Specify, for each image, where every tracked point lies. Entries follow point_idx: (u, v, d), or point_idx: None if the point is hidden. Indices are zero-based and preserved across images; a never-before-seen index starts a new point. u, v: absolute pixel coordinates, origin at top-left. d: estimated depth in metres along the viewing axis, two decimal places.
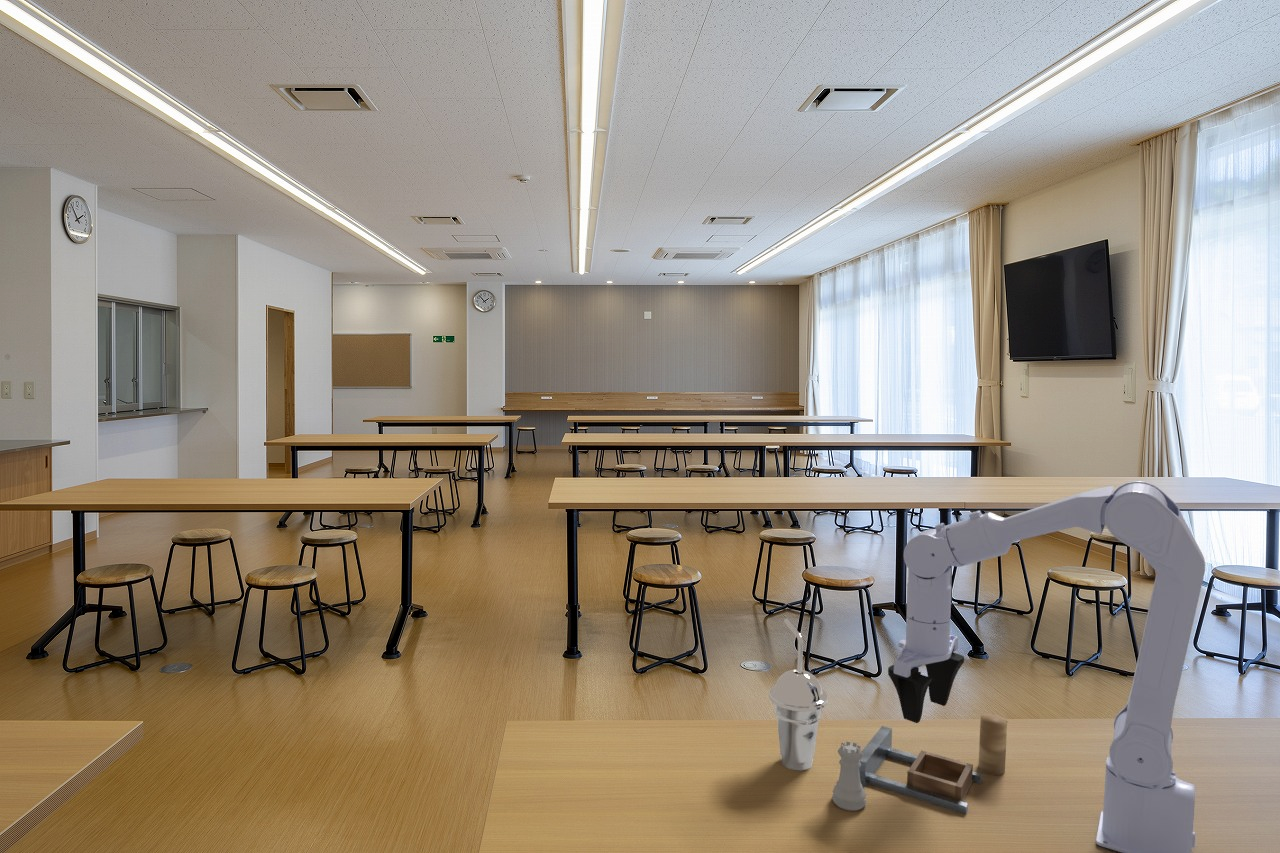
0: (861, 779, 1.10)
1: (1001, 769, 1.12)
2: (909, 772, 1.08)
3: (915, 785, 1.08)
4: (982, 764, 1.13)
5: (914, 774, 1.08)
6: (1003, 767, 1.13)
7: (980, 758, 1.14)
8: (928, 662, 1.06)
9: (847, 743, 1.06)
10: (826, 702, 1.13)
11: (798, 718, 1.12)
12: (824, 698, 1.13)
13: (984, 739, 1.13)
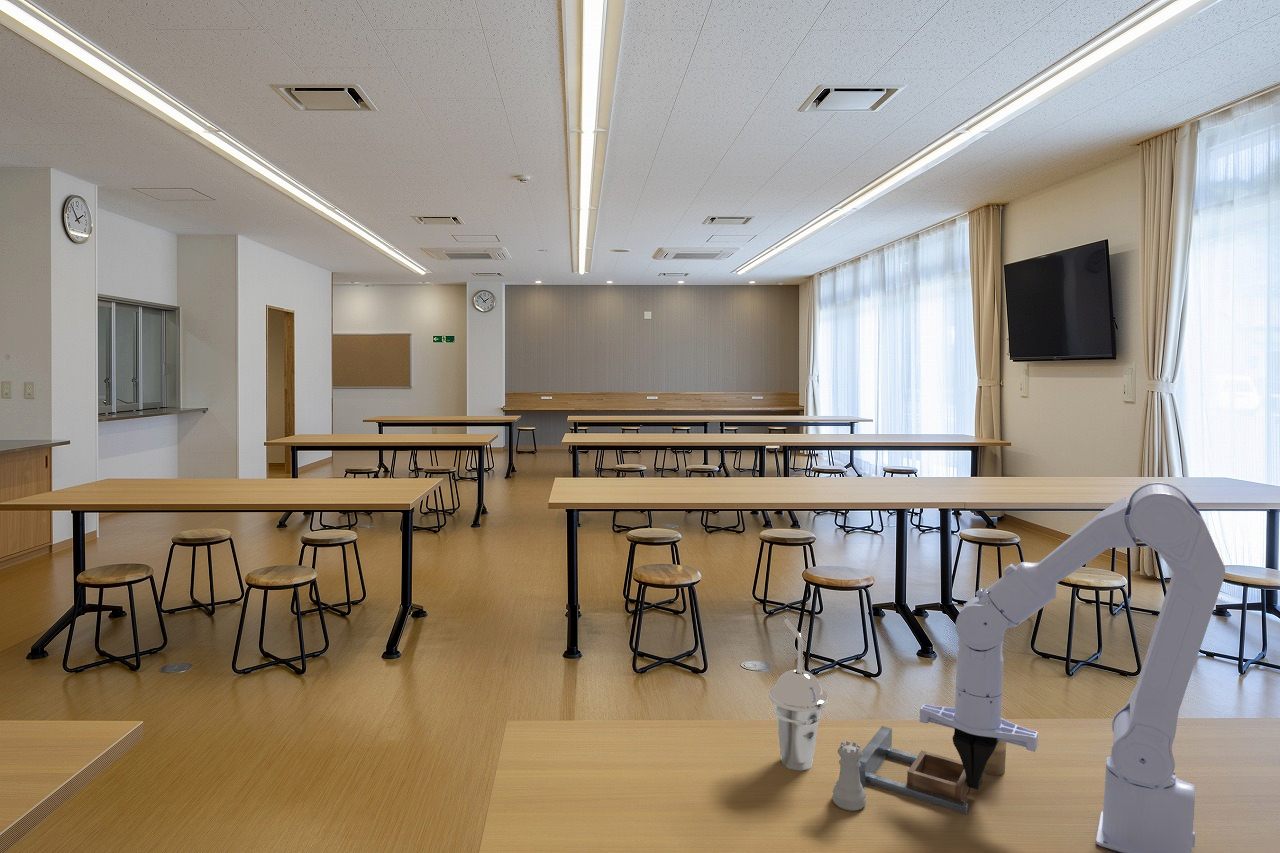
0: (861, 779, 1.10)
1: (1001, 769, 1.12)
2: (909, 772, 1.08)
3: (915, 785, 1.08)
4: None
5: (914, 774, 1.08)
6: (1003, 767, 1.13)
7: None
8: (946, 722, 1.06)
9: (847, 743, 1.06)
10: (826, 702, 1.13)
11: (798, 718, 1.12)
12: (824, 698, 1.13)
13: None
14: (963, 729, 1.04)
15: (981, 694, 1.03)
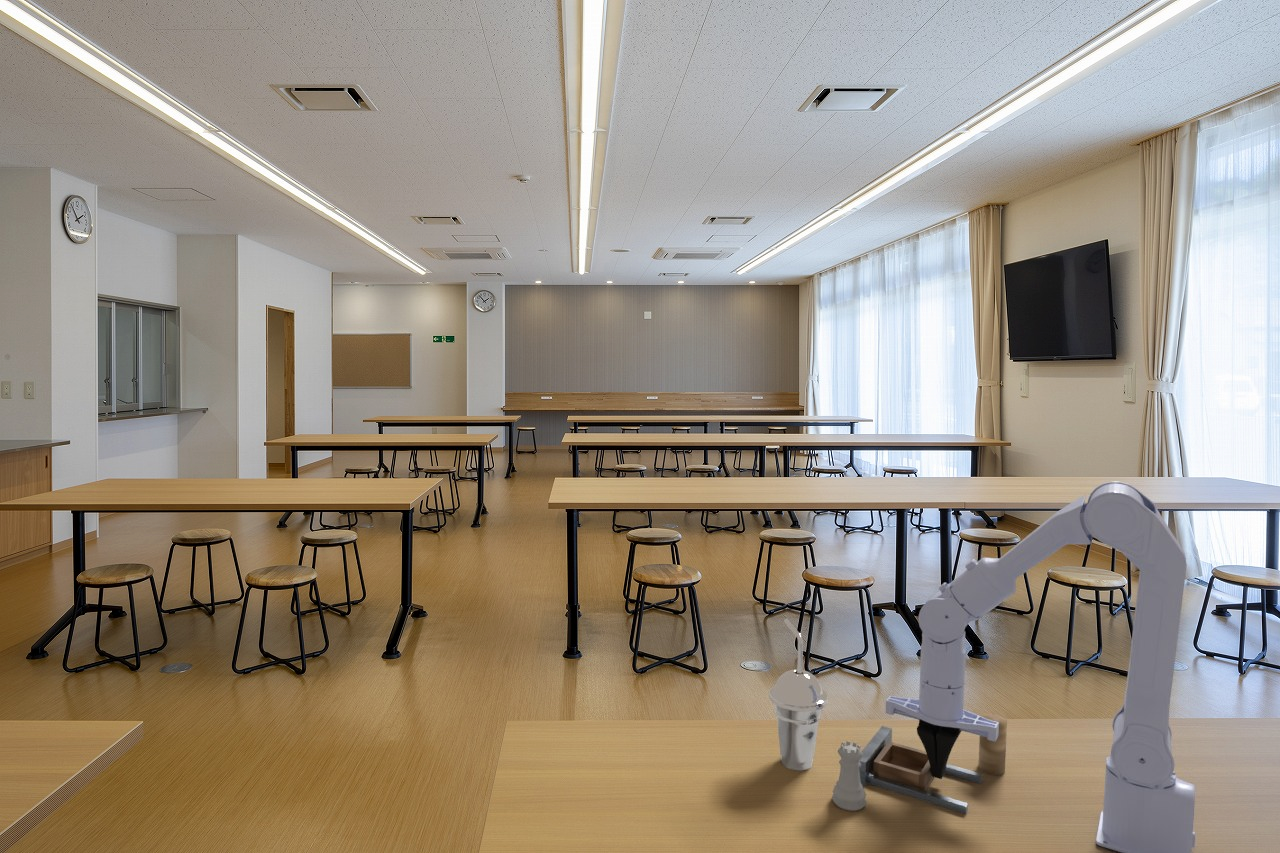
0: (861, 779, 1.10)
1: (1001, 769, 1.12)
2: (875, 762, 1.11)
3: (881, 774, 1.11)
4: (982, 764, 1.13)
5: (880, 764, 1.10)
6: (1003, 767, 1.13)
7: (980, 758, 1.14)
8: (910, 713, 1.09)
9: (847, 743, 1.06)
10: (826, 702, 1.13)
11: (798, 718, 1.12)
12: (824, 698, 1.13)
13: (983, 739, 1.13)
14: (926, 720, 1.07)
15: (943, 685, 1.05)
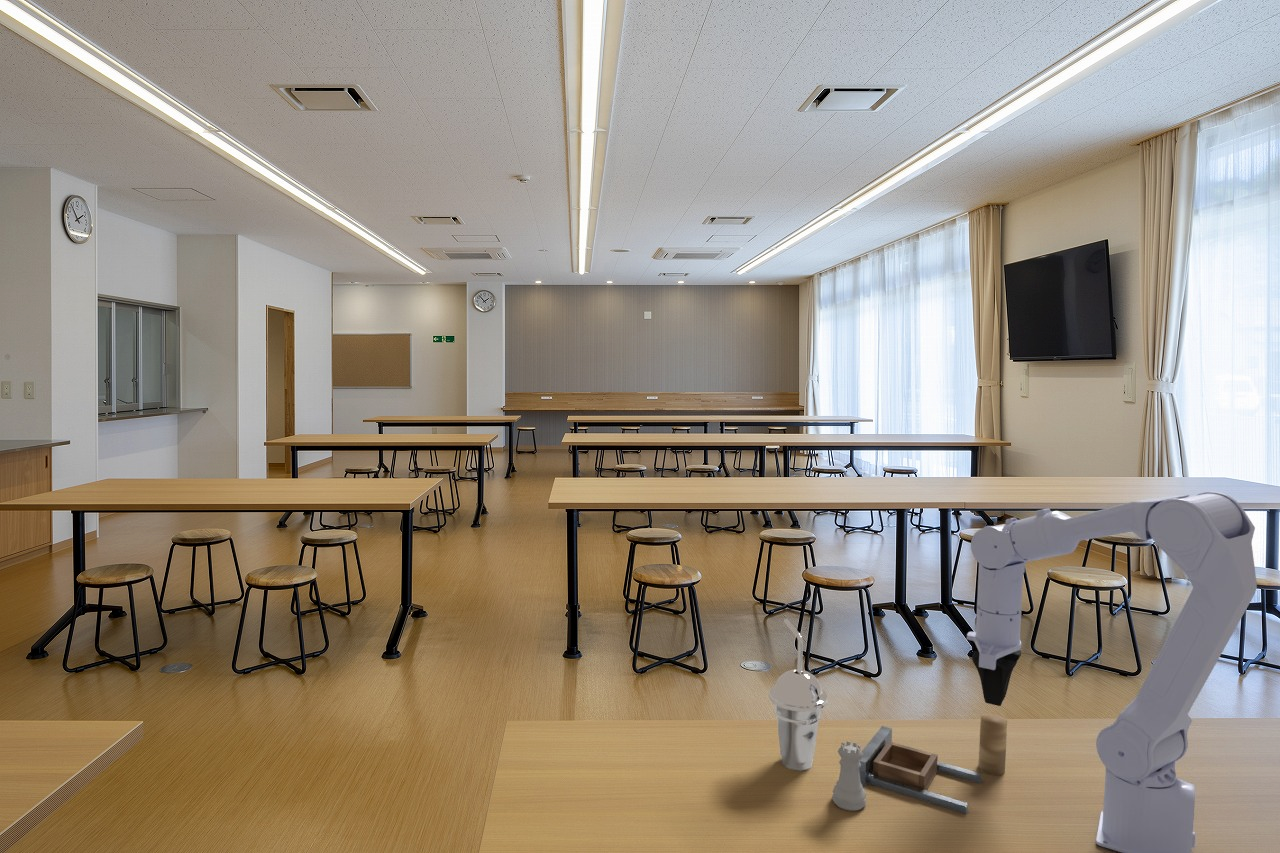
0: (861, 779, 1.10)
1: (1001, 769, 1.12)
2: (875, 762, 1.11)
3: (880, 774, 1.11)
4: (982, 764, 1.13)
5: (879, 764, 1.11)
6: (1003, 767, 1.13)
7: (980, 758, 1.14)
8: (1008, 653, 1.08)
9: (847, 743, 1.06)
10: (826, 702, 1.13)
11: (798, 718, 1.12)
12: (824, 698, 1.13)
13: (984, 739, 1.13)
14: (1017, 648, 1.10)
15: (991, 610, 1.10)
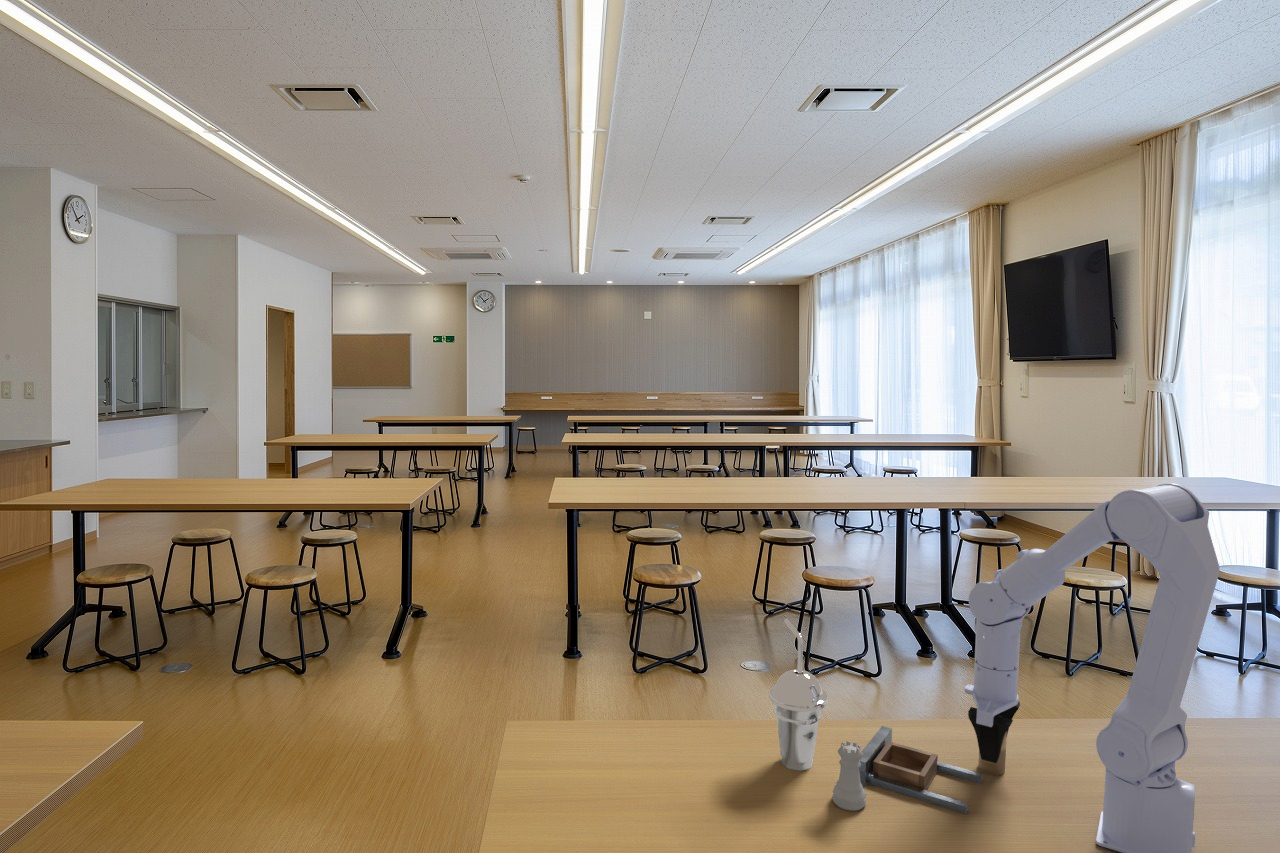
0: (861, 779, 1.10)
1: (1001, 769, 1.12)
2: (875, 762, 1.11)
3: (880, 774, 1.11)
4: (982, 764, 1.13)
5: (879, 764, 1.11)
6: (1003, 767, 1.13)
7: (980, 758, 1.14)
8: (1005, 709, 1.09)
9: (847, 743, 1.06)
10: (826, 702, 1.13)
11: (798, 718, 1.12)
12: (824, 698, 1.13)
13: None
14: (1015, 704, 1.11)
15: (989, 666, 1.10)
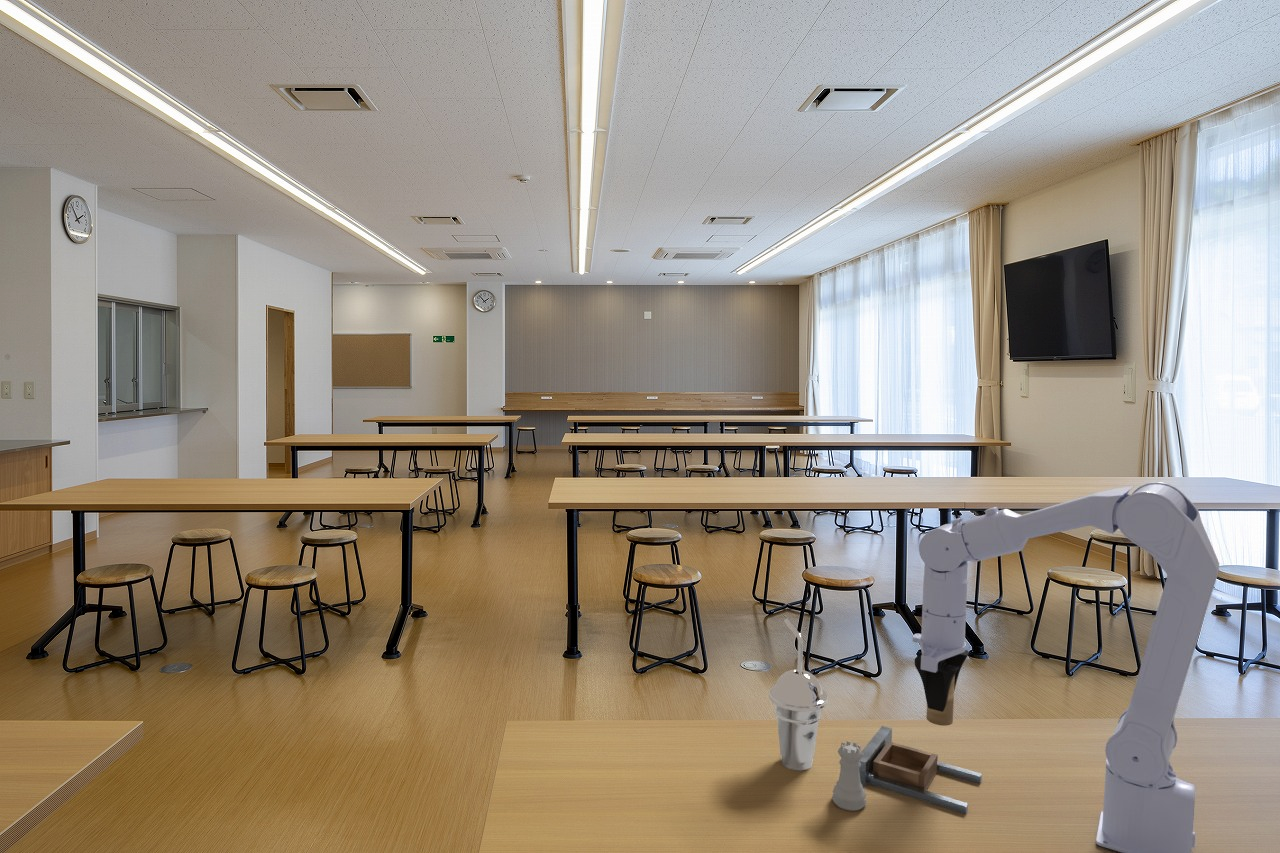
0: (861, 779, 1.10)
1: (949, 719, 1.11)
2: (875, 762, 1.11)
3: (880, 774, 1.11)
4: (930, 714, 1.11)
5: (879, 764, 1.11)
6: (951, 717, 1.11)
7: (928, 709, 1.12)
8: (951, 655, 1.07)
9: (847, 743, 1.06)
10: (826, 702, 1.13)
11: (798, 718, 1.12)
12: (824, 698, 1.13)
13: None
14: (961, 651, 1.09)
15: (942, 614, 1.08)
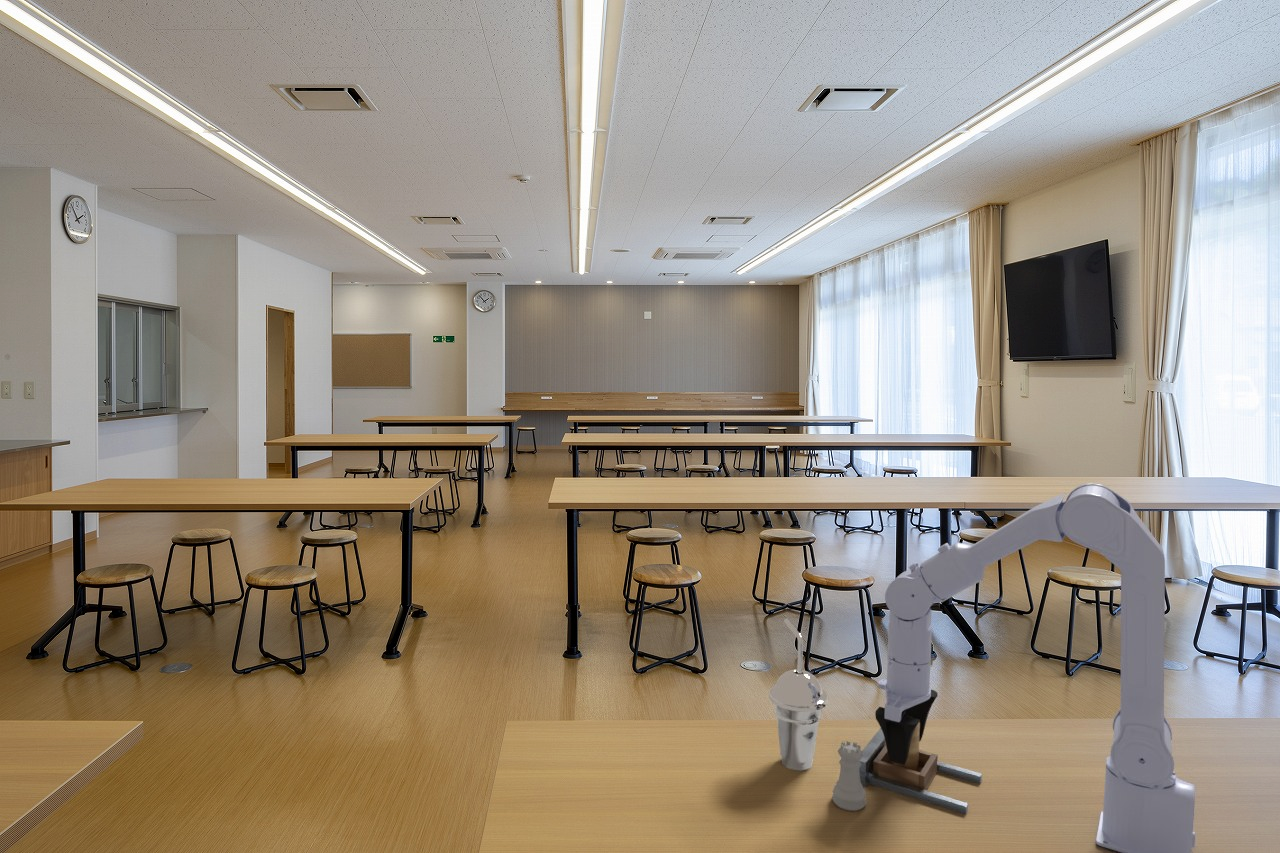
0: (861, 779, 1.10)
1: None
2: (875, 762, 1.11)
3: (880, 774, 1.11)
4: None
5: (879, 764, 1.11)
6: (916, 770, 1.11)
7: None
8: (915, 704, 1.07)
9: (847, 743, 1.06)
10: (826, 702, 1.13)
11: (798, 718, 1.12)
12: (824, 698, 1.13)
13: None
14: (926, 699, 1.08)
15: (909, 662, 1.08)
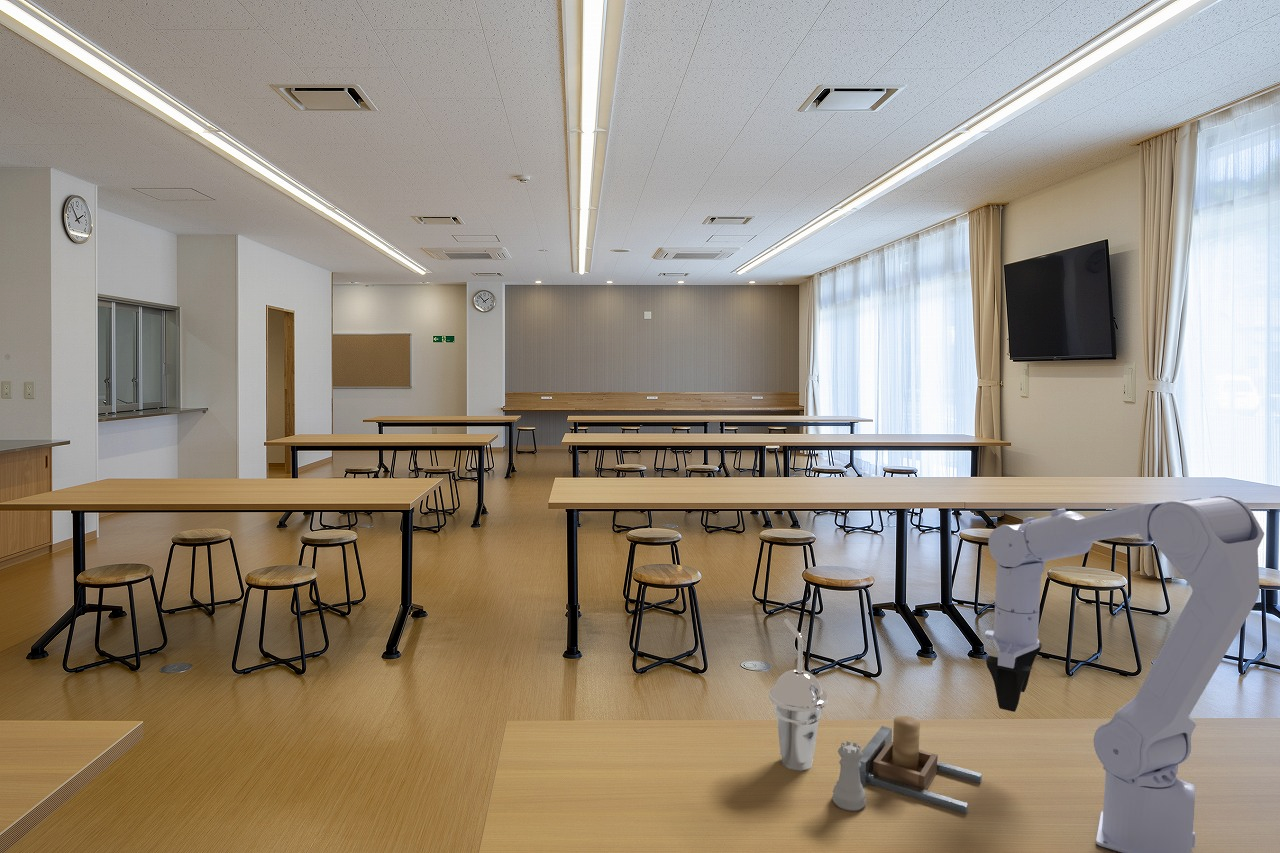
0: (861, 779, 1.10)
1: None
2: (875, 762, 1.11)
3: (880, 774, 1.11)
4: None
5: (879, 764, 1.11)
6: (916, 770, 1.11)
7: (893, 761, 1.12)
8: (1026, 651, 1.09)
9: (847, 743, 1.06)
10: (826, 702, 1.13)
11: (798, 718, 1.12)
12: (824, 698, 1.13)
13: (896, 742, 1.11)
14: (1036, 647, 1.10)
15: (1007, 608, 1.11)
